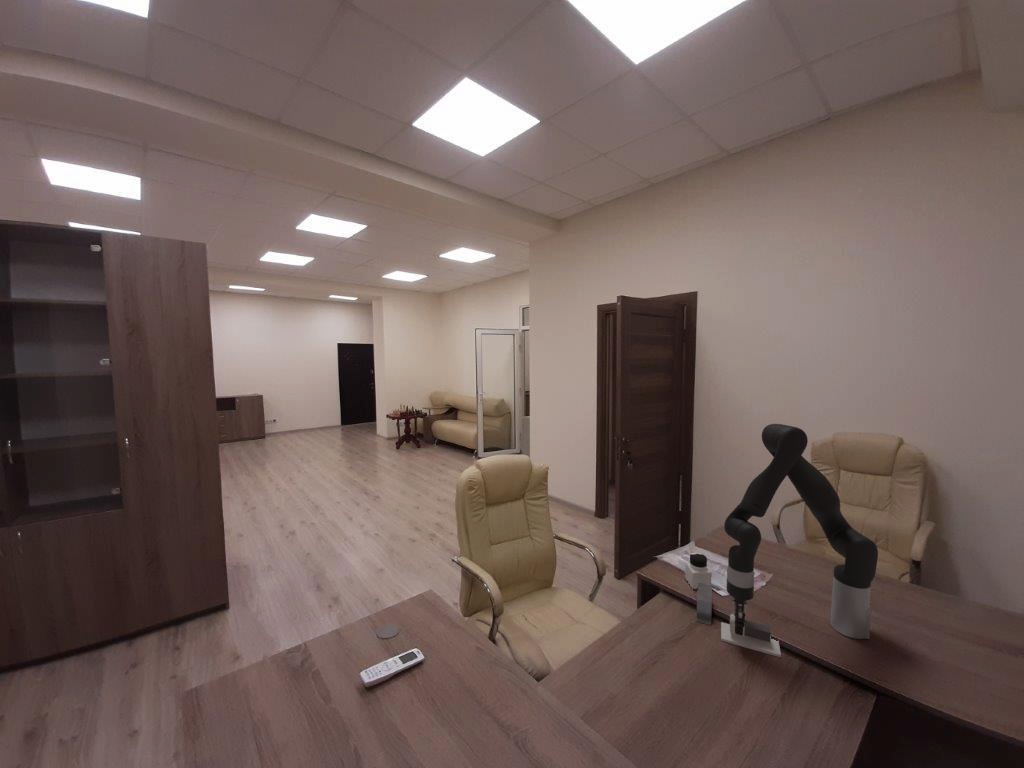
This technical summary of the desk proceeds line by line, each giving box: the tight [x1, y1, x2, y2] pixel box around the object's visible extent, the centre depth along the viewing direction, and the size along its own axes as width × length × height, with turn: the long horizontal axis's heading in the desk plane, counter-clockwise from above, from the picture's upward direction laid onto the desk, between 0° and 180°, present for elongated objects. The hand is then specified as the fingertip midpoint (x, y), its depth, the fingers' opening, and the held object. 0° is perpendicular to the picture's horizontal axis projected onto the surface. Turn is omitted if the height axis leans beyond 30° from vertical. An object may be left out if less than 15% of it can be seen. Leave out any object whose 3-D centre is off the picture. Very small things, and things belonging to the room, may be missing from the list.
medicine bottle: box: [684, 552, 712, 590], centre depth 156 cm, size 7×7×12 cm
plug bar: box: [729, 613, 772, 642], centre depth 127 cm, size 11×4×4 cm, turn 63°
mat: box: [720, 621, 782, 658], centre depth 127 cm, size 16×8×1 cm, turn 63°
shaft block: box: [695, 583, 713, 626], centre depth 141 cm, size 4×15×7 cm, turn 153°
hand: (738, 629), depth 129 cm, fingers closed on plug bar, 4 cm apart
